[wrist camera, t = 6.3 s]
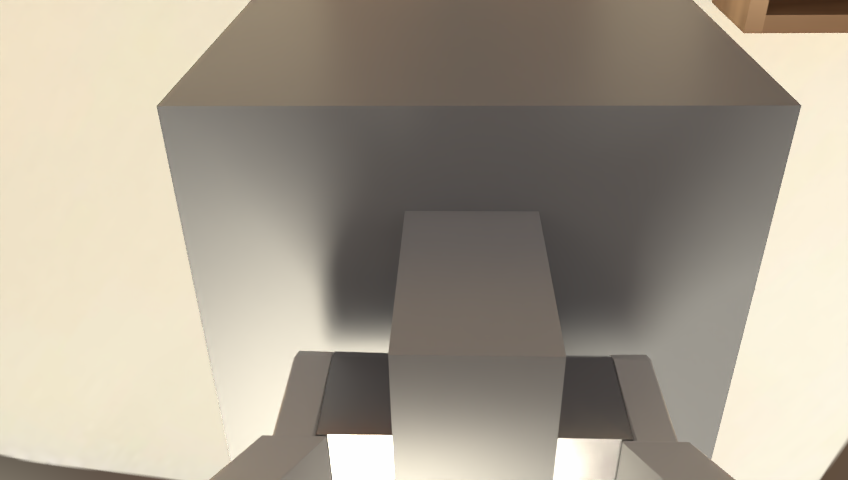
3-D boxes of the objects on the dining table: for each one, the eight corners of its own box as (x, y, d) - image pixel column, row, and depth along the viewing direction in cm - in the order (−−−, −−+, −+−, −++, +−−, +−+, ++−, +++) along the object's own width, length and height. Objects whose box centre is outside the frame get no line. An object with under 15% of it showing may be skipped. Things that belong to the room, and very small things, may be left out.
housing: (260, -10, 15) (49, 226, 7) (679, -13, 15) (930, 231, 7) (300, 321, 19) (195, 694, 11) (627, 325, 19) (746, 710, 11)
